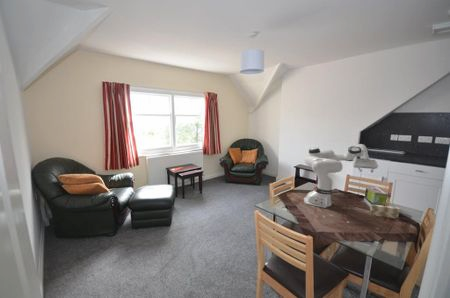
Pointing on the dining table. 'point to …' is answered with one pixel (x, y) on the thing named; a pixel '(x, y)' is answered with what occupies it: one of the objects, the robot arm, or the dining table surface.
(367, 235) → the dining table surface
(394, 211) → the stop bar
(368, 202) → the tea box
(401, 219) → the dining table surface
